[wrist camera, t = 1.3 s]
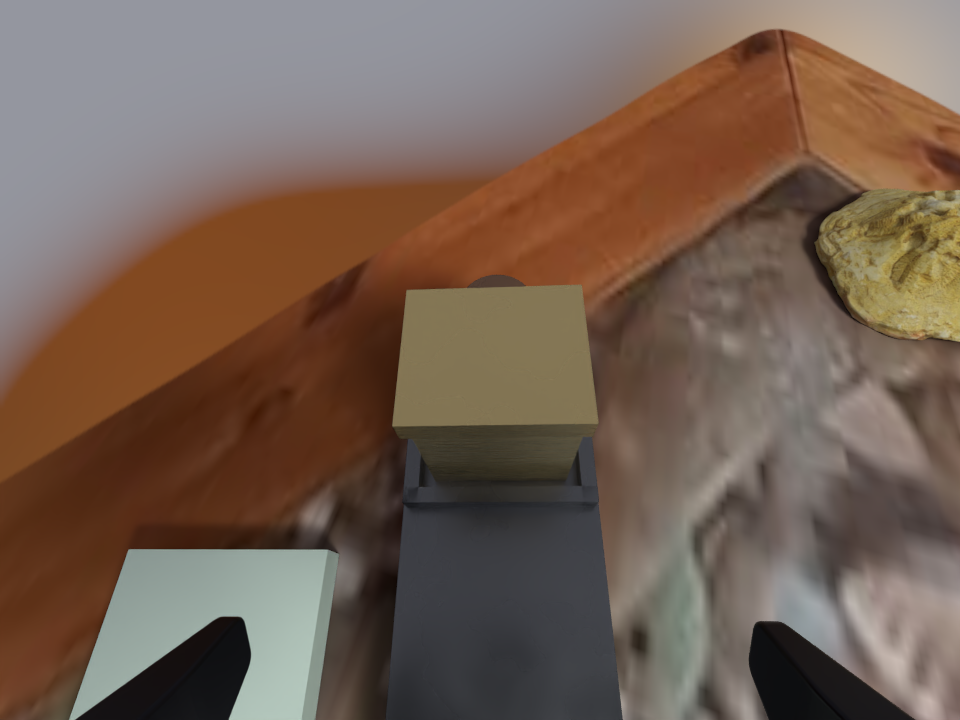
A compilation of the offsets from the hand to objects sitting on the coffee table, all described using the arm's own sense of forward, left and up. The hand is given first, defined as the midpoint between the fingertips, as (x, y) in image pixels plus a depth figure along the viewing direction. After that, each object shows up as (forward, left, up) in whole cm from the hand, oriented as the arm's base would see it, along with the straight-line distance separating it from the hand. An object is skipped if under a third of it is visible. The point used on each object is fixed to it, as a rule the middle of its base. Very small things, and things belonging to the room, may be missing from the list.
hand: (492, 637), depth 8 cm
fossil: (+7, -30, -14) cm, 33 cm away
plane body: (+3, -1, -13) cm, 14 cm away
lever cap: (+7, -3, -10) cm, 13 cm away
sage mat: (+4, +12, -13) cm, 18 cm away
